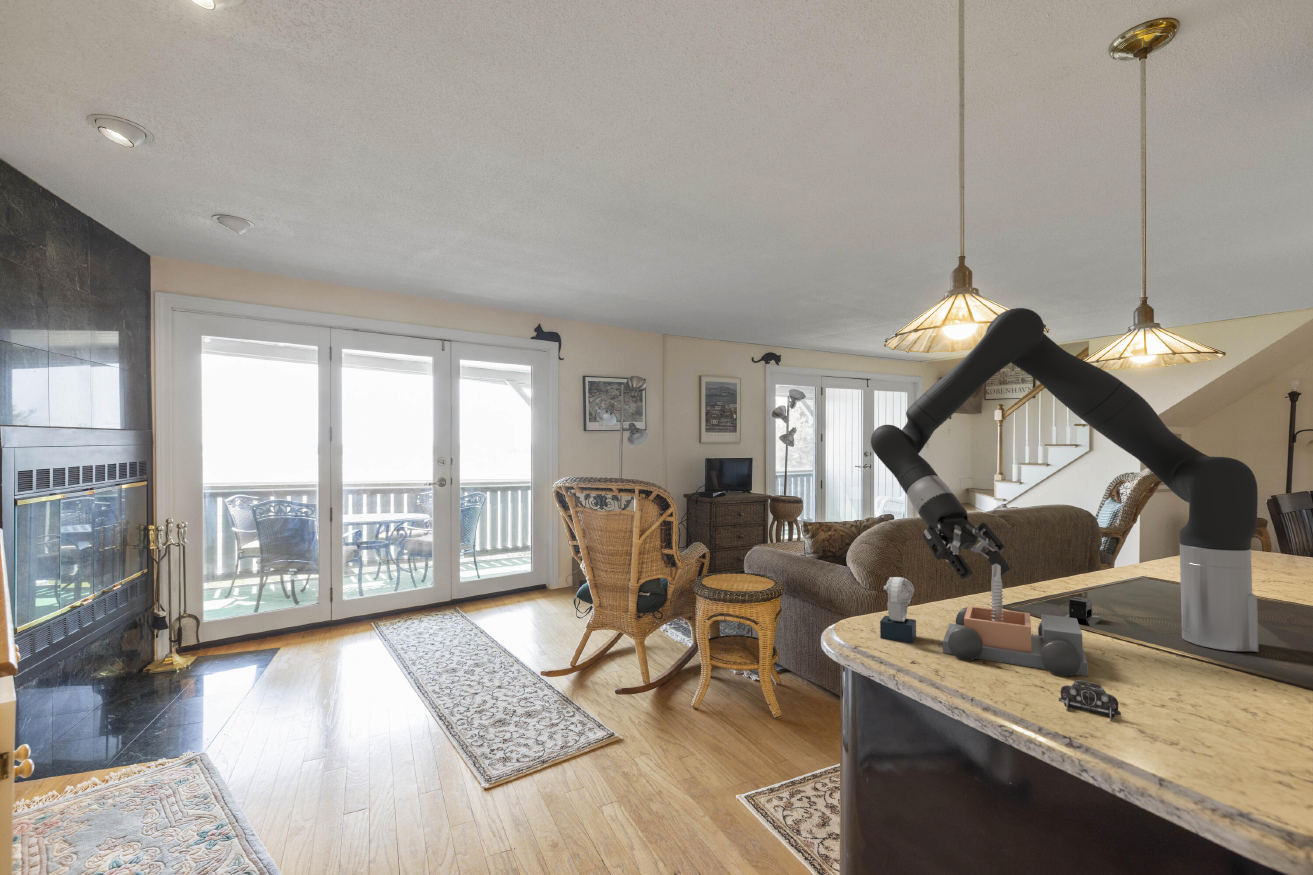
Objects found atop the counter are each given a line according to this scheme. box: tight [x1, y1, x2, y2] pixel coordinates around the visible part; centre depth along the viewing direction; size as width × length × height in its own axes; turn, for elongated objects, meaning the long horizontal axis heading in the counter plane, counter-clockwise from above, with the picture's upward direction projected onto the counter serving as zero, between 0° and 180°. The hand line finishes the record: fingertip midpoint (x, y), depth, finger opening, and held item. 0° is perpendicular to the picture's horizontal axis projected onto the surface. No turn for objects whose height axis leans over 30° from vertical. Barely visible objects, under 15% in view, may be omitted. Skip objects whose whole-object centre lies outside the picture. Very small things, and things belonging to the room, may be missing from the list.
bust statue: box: [879, 576, 917, 644], centre depth 108 cm, size 6×8×11 cm
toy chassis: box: [942, 605, 1089, 677], centre depth 99 cm, size 20×16×6 cm
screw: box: [990, 564, 1004, 623], centre depth 101 cm, size 13×5×5 cm
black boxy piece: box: [1063, 596, 1104, 628], centre depth 119 cm, size 12×7×5 cm, turn 130°
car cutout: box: [1058, 679, 1122, 722], centre depth 74 cm, size 15×7×4 cm, turn 49°
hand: (987, 574), depth 102 cm, fingers open, 8 cm apart
